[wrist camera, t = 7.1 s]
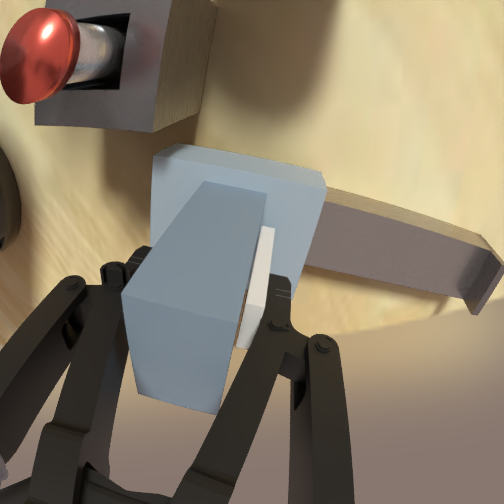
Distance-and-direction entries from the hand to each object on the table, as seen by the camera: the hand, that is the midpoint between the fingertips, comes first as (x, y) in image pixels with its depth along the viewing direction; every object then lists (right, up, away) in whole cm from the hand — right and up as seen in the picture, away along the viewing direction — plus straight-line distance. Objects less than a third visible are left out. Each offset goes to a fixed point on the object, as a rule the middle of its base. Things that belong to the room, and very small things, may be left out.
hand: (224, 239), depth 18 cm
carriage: (+1, +2, +4) cm, 5 cm away
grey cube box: (-5, +13, 0) cm, 14 cm away
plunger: (-6, +11, -3) cm, 13 cm away
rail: (+9, +1, +5) cm, 10 cm away
